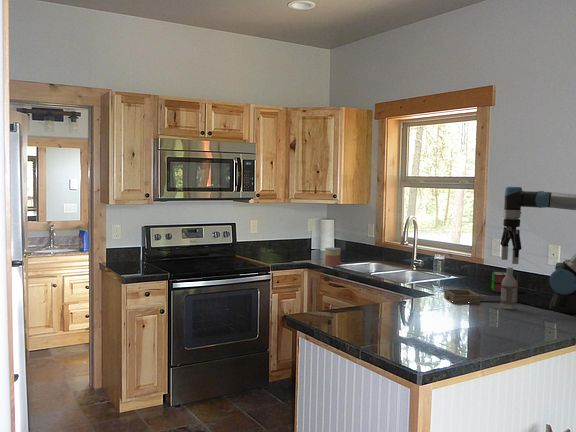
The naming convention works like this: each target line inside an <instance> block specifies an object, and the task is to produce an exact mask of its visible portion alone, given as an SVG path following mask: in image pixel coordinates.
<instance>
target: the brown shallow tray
mask: <svg viewBox="0 0 576 432" xmlns="http://www.w3.org/2000/svg"><path fill="white" fill-rule="evenodd" d="M443 290H444V291H443V298H444V299H445V300H447V301H449V303H451V304H452V305H472V306H473V305H475V306H479V305H480V304H481V301H480V296H481V295H480V294H478V293H476V292H474V291H472V290H470V289H451V288H449V289H447V288H445V289H443ZM452 301H453V302H452ZM468 302H470V303H468Z"/></svg>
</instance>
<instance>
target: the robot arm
mask: <svg viewBox="0 0 576 432" xmlns="http://www.w3.org/2000/svg"><path fill="white" fill-rule="evenodd" d="M503 206H504V208H503V218H504V219H503V224H502V225H503V226H504V227H503V230H502V231H503V232H502V235H501V240H500V244H499V245H501V261H504V260H505V261H508V257H509V243H510V241H511V244H512V257H511V258H512V259H511V265H519V261H520V259H519V258H520V257H519V256H520V250H522V242H521V235H520V231H521V230H520V229H517V228H519V227H521V214H522V211H521V210H522V207H526V208H539V209H542V208H543V209H544V208H545V209H547V208H550V209H558V210H559V209H562V210H569V211H570V210H571V211H576V193H575V194H572V193H562V192H551V191H550V192H549V191H541V190H538V191H532V190H531V191H528V190H527V191H525V190H523V188H522V186H521V187H520V186H507V187H506V188H505V192H504V205H503ZM554 269H555V271H553V272H551V274H550V276H549V286H550V288H551V289H552V290H553V291H554V292H553V295H552V298H551V300H550V303H549V310H552V311H554V312H560V313H566V314H576V253H575V254H574V255H572V257H571V258H570V259H564V260H563V262H556V263H555V267H554Z"/></svg>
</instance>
